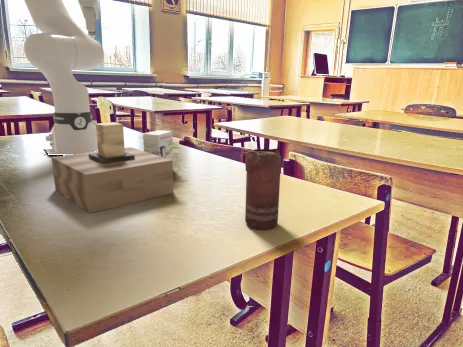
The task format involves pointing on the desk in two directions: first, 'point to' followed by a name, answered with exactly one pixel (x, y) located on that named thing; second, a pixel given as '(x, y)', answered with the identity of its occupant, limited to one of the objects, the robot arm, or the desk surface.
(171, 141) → the ink box
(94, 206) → the sleeve block
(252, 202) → the can
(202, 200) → the desk surface
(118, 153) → the peg
